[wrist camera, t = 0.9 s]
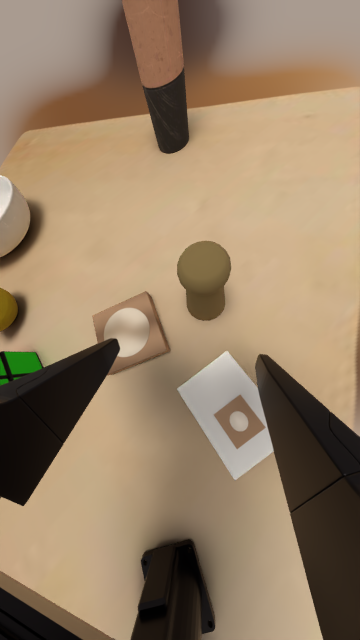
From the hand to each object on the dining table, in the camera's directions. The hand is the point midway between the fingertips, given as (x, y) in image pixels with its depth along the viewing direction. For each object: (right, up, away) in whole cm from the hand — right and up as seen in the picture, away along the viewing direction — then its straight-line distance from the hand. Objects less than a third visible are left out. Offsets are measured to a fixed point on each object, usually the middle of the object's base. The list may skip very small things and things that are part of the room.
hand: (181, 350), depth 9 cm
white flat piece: (+7, -10, +10) cm, 15 cm away
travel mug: (-2, +43, +25) cm, 50 cm away
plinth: (-8, 0, +15) cm, 17 cm away
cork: (+4, +5, +14) cm, 16 cm away
